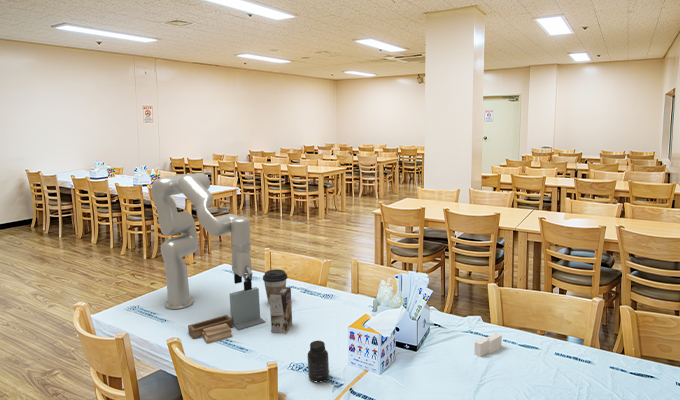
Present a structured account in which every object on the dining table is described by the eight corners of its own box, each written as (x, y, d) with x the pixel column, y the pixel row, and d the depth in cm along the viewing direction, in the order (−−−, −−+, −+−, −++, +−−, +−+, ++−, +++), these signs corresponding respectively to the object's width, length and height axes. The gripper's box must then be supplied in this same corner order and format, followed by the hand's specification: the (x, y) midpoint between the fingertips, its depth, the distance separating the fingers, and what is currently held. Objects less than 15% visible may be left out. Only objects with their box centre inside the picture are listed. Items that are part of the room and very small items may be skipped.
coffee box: (286, 333, 186) (284, 295, 183) (270, 332, 188) (268, 294, 185) (293, 323, 195) (291, 286, 192) (278, 322, 196) (276, 286, 194)
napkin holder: (501, 343, 175) (501, 329, 174) (512, 359, 164) (513, 344, 163) (461, 345, 175) (461, 330, 174) (469, 360, 163) (470, 345, 162)
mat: (227, 320, 200) (227, 319, 200) (253, 313, 207) (253, 312, 206) (238, 330, 190) (238, 329, 190) (265, 322, 197) (265, 321, 197)
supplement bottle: (308, 372, 158) (306, 339, 156) (328, 371, 158) (327, 338, 156) (308, 384, 151) (307, 349, 149) (329, 382, 152) (328, 348, 149)
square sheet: (231, 323, 196) (229, 293, 194) (257, 315, 203) (256, 286, 200) (233, 325, 194) (231, 295, 192) (260, 317, 201) (258, 288, 198)
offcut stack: (202, 337, 186) (201, 329, 185) (226, 331, 191) (226, 322, 190) (207, 344, 180) (206, 336, 179) (232, 337, 185) (231, 329, 184)
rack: (188, 333, 188) (187, 325, 188) (227, 322, 198) (226, 314, 197) (193, 339, 184) (192, 330, 183) (233, 327, 193) (232, 319, 192)
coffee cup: (259, 306, 213) (257, 275, 211) (272, 297, 224) (270, 267, 221) (281, 310, 209) (279, 278, 206) (293, 300, 219) (291, 269, 217)
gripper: (224, 243, 197) (226, 282, 201) (241, 253, 184) (243, 295, 187) (241, 240, 202) (242, 278, 205) (258, 250, 188) (260, 290, 191)
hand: (243, 286), depth 196 cm, fingers open, 9 cm apart
